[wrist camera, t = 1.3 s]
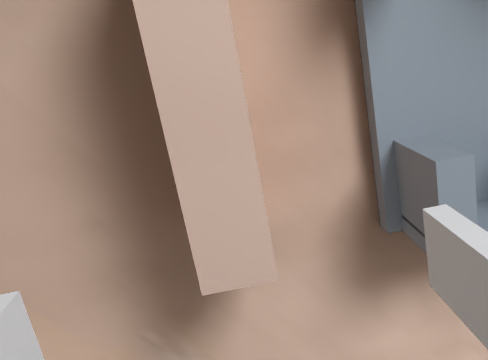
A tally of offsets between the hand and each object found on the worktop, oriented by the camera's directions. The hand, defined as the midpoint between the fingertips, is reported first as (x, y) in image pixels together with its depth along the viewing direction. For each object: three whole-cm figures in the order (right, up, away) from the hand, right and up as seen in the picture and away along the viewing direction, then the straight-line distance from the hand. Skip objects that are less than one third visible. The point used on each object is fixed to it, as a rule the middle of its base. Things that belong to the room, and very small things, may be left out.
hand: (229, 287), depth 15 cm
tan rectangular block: (-2, +10, +15) cm, 18 cm away
